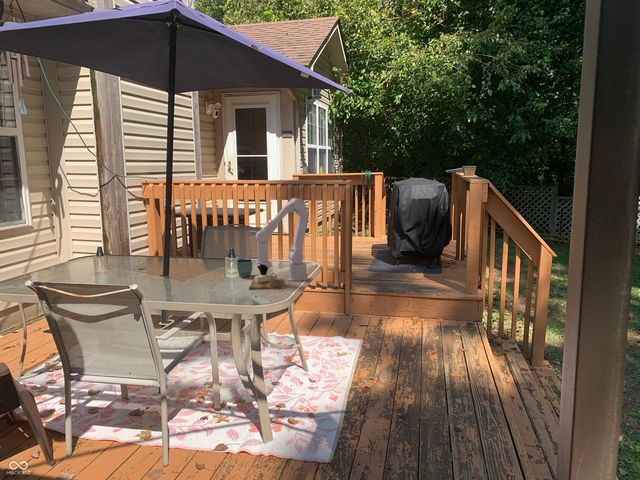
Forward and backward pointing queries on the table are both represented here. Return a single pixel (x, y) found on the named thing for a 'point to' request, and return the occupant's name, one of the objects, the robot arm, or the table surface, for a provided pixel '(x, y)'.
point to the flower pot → (244, 267)
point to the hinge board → (267, 283)
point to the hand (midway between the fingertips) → (263, 278)
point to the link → (264, 278)
